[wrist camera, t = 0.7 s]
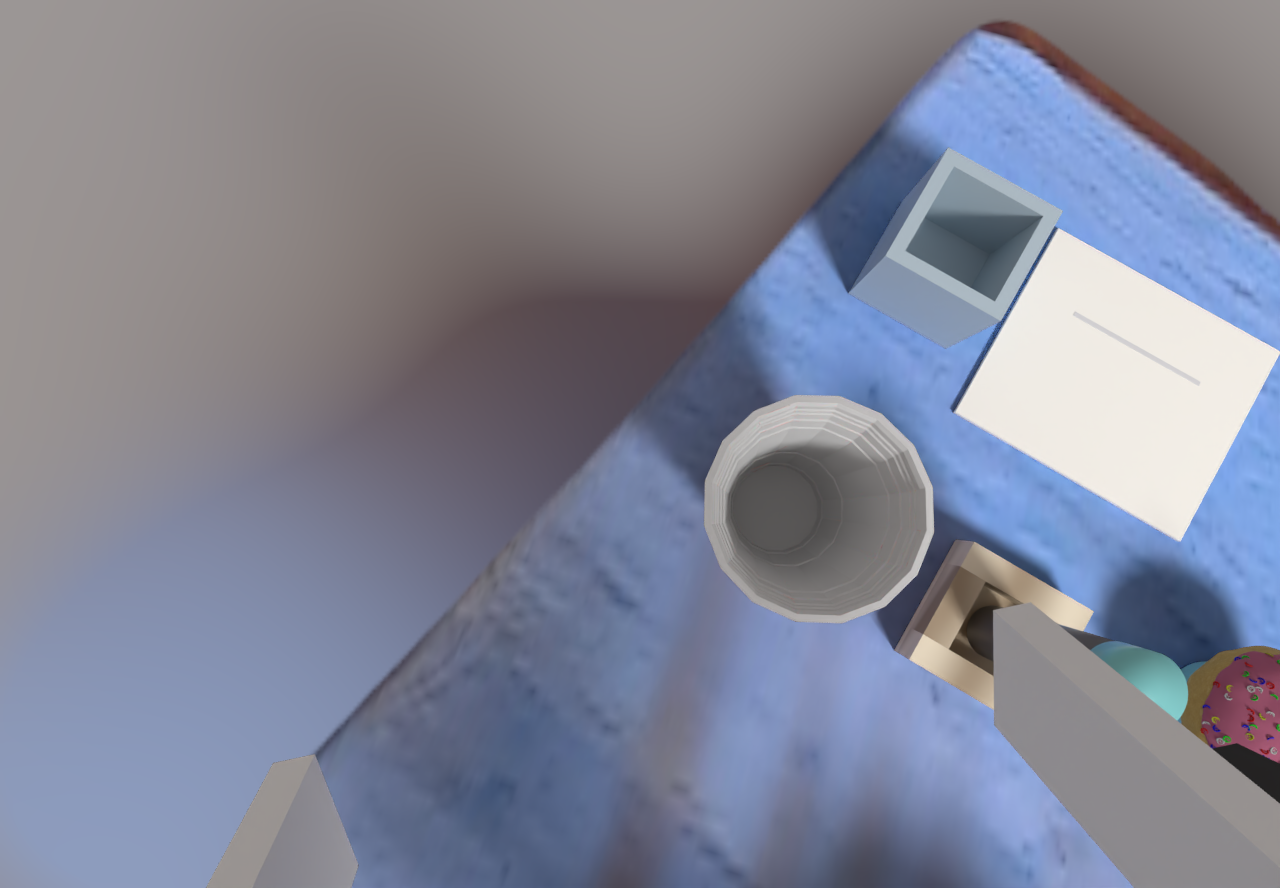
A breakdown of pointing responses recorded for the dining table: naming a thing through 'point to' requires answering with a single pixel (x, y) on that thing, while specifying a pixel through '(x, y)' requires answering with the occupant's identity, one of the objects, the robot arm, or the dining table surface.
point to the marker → (1106, 661)
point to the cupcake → (1236, 700)
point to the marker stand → (952, 601)
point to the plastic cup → (818, 509)
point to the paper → (1117, 384)
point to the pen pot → (955, 251)
